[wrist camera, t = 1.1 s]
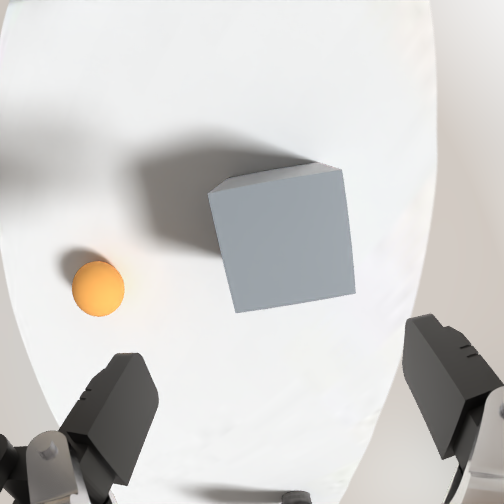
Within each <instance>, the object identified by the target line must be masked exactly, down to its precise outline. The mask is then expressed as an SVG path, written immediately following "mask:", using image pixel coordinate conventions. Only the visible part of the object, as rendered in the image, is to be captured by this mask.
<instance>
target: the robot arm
mask: <svg viewBox="0 0 504 504" xmlns="http://www.w3.org/2000/svg"><path fill="white" fill-rule="evenodd" d="M402 365H403V373H404V377H405V380H406V382H407V384H408V385H409V388H410V390H411V392H412V394H413V396H414V398H415V400H416V402H417V405H418V407H419V409H420V411H421V413H422V415H423V418H424V420H425V422H426V424H427V426H428V429H429V431H430V433H431V435H432V438H433V440H434V442H435V445H436V447H437V449H438V452H439V454H440V456H441V459H442V460H444V459H446V458H449V457H452V456H454V455H456V458H457V460H458V462H459V463H458V465H457V467H456V469H455V472H454V475H453V477H452V480H451V483H450V485H449V488H448V490H447V493H446V495H445V498H444V500H443V502H442V504H504V384H503V383H502V382H501V380H500V379H499V378H498V377H497V375H496V374H495V373H494V371H493V370H492V369H491V368H490V366H489V365H488V364H487V362H486V361H485V360H484V359H483V358H482V356H481V355H478V351H477V350H476V349H475V348H474V347H473V346H471V343H470V342H469V341H468V340H467V338H466V337H465V336H464V335H463V334H462V333H461V332H459V331H457V330H455V329H453V328H452V327H450V326H447V327H443V326H442V325H441V324H440V323H439V321H438V320H437V319H436V318H435V316H434V315H433V314H427V315H422V316H418V317H414V318H409V319H407V321H406V325H405V338H404V350H403V361H402ZM158 403H159V398H158V392H157V389H156V387H155V384H154V382H153V380H152V378H151V375H150V373H149V371H148V368H147V366H146V364H145V361H144V359H143V357H142V356H141V355H140V354H139V353H117V354H115V355H114V356H113V358H112V359H111V361H110V362H109V364H108V365H107V367H106V368H105V369H103V370H102V371H101V372H99V373H98V374H97V375H96V376H95V377H93V378H92V380H91V381H90V383H89V384H88V386H87V387H86V391H84V392H83V393H82V395H81V396H80V400H78V401H77V402H76V404H75V405H74V407H73V408H72V410H71V412H70V413H69V415H68V416H67V418H66V419H65V421H64V422H63V424H62V426H61V427H60V429H59V430H58V431H46V432H43V433H41V434H39V435H38V436H36V437H35V438H34V439H33V440H32V441H31V442H30V444H29V445H28V446H23V447H13V446H12V445H11V444H10V442H9V441H8V440H7V439H6V437H5V436H4V435H2V434H0V492H1V490H2V488H4V489H5V490H6V491H7V492H8V493H9V494H10V495H11V496H12V497H14V499H15V500H14V502H13V504H117V501H116V499H115V496H114V494H113V493H112V491H111V490H110V489H111V486H112V484H113V483H114V484H120V485H125V486H128V483H129V481H130V478H131V475H132V473H133V470H134V467H135V465H136V462H137V459H138V457H139V454H140V452H141V449H142V446H143V444H144V441H145V439H146V436H147V433H148V431H149V428H150V426H151V423H152V421H153V418H154V416H155V413H156V410H157V408H158Z"/></svg>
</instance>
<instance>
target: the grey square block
mask: <svg viewBox="0 0 504 504" xmlns="http://www.w3.org/2000/svg"><path fill="white" fill-rule="evenodd" d="M207 194H208V199H209V203H210V208H211V212H212V216H213V221H214V225H215V229H216V234H217V238H218V242H219V247H220V251H221V255H222V259H223V263H224V268H225V272H226V276H227V280H228V284H229V288H230V292H231V296H232V300H233V304H234V308H235V312H236V313H240V312H247V311H254V310H261V309H268V308H274V307H280V306H287V305H293V304H299V303H305V302H311V301H317V300H322V299H328V298H333V297H339V296H344V295H350V294H355V293H356V292H355V278H354V266H353V255H352V245H351V235H350V226H349V218H348V210H347V202H346V194H345V187H344V180H343V174H342V170H341V169H338V168H335V167H332V166H329V165H326V164H322V163H319V162H315V163H309V164H302V165H296V166H290V167H284V168H279V169H273V170H267V171H262V172H257V173H251V174H246V175H241V176H236V177H231V178H227V179H226V180H225V181H223V182H222V183H221V184H219V185H218V186H217V187H215V188H214V189H213V190H211V191H210V192H209V193H207Z"/></svg>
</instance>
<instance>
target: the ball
mask: <svg viewBox="0 0 504 504" xmlns="http://www.w3.org/2000/svg"><path fill="white" fill-rule="evenodd" d="M72 293H73V297H74V300H75V302H76V304H77V305H78V306H79V308H80V309H81V310H83V311H84V312H85V313H87V314H89V315H92V316H98V317H99V316H106V315H109V314H111V313H112V312H114V311H115V310H116V309H117V308H118V307H119V306H120V304H121V302H122V300H123V297H124V282H123V279H122V277H121V275H120V273H119V272H118V271H117V270H116V269H115V268H114V267H113V266H112V265H110V264H108V263H105V262H101V261H93V262H90V263H87V264H85V265H84V266H82V267H81V268H80V269H79V270H78V271H77V273H76V274H75V277H74V279H73V283H72Z"/></svg>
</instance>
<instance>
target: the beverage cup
mask: <svg viewBox="0 0 504 504" xmlns="http://www.w3.org/2000/svg"><path fill="white" fill-rule="evenodd" d="M281 504H312V502H311V498H310V494H309V493H308V492H305V491H292V492H288V493H286V494H284V495H283V497H282V503H281Z"/></svg>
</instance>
